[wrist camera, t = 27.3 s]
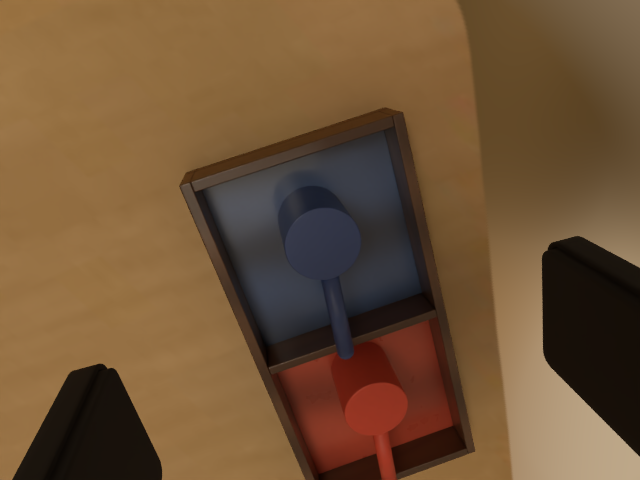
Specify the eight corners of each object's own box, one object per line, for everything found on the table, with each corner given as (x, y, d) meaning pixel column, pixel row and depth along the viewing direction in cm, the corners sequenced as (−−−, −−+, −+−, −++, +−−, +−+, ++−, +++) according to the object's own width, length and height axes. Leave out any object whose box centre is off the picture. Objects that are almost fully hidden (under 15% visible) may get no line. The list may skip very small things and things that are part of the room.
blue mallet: (270, 194, 27) (276, 218, 23) (336, 178, 27) (354, 199, 23) (305, 330, 30) (315, 372, 26) (363, 314, 31) (382, 353, 26)
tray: (185, 172, 26) (178, 185, 23) (385, 106, 27) (403, 112, 24) (311, 473, 36) (318, 509, 33) (457, 421, 36) (475, 451, 34)
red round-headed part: (325, 349, 31) (339, 393, 27) (382, 334, 31) (403, 375, 27) (350, 451, 35) (364, 504, 31) (400, 437, 35) (422, 487, 31)
